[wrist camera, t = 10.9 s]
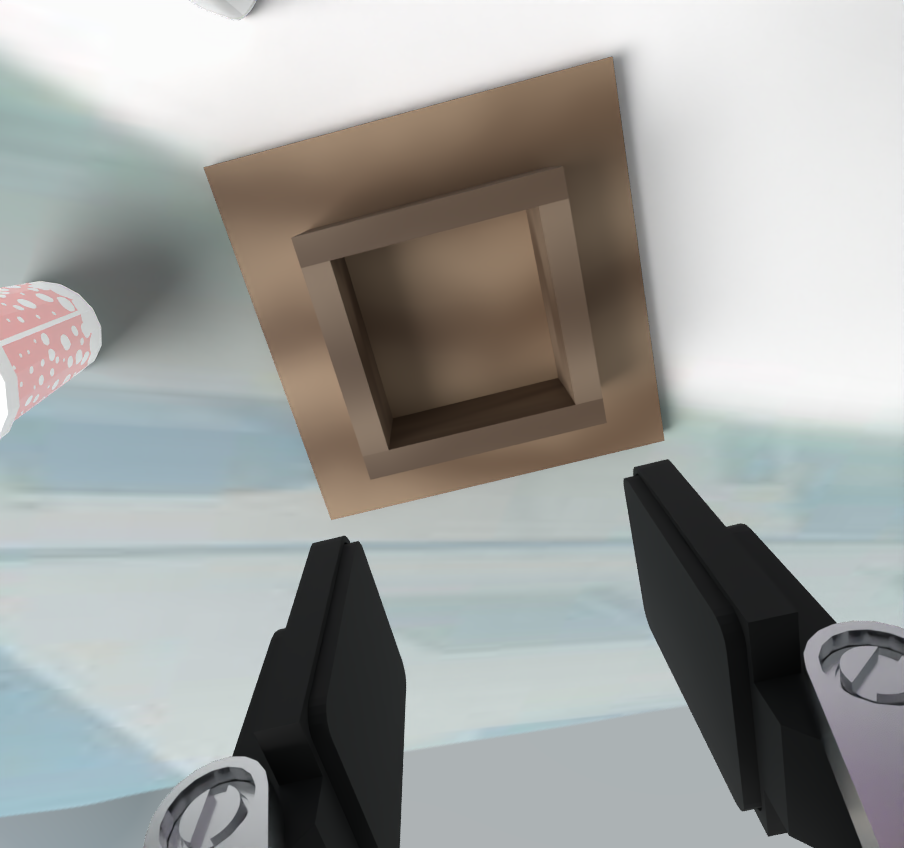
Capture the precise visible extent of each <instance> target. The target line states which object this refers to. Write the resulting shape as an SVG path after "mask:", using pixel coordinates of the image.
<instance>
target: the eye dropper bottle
mask: <svg viewBox="0 0 904 848" xmlns="http://www.w3.org/2000/svg"><path fill="white" fill-rule="evenodd" d="M189 1H191V2H192V3H194V4H195V5H196V6H198V7H199V8H201V9H204V10H206V11H209V12H211V13H214V14H217V15H219V16H222V17H225V18H228V19H231V20H241V19H242V18H244V17H245V16H247V15H248V13H249V12H250V11H251V9H252V8H253V6H254V5H255V3H256V1H257V0H189Z"/></svg>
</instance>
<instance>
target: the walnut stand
mask: <svg viewBox="0 0 904 848" xmlns="http://www.w3.org/2000/svg"><path fill="white" fill-rule="evenodd" d="M204 170H205V173H206V176H207V179H208V181H209V184H210V187H211V190H212V192H213V195H214V198H215V201H216V203H217V206H218V209H219V212H220V214H221V217H222V220H223V223H224V225H225V228H226V231H227V234H228V236H229V239H230V242H231V245H232V247H233V250H234V253H235V256H236V258H237V261H238V264H239V267H240V270H241V272H242V275H243V278H244V281H245V283H246V286H247V289H248V292H249V294H250V297H251V300H252V303H253V305H254V308H255V311H256V314H257V316H258V319H259V322H260V325H261V327H262V330H263V333H264V336H265V338H266V341H267V344H268V347H269V349H270V352H271V355H272V358H273V360H274V363H275V366H276V369H277V372H278V374H279V377H280V380H281V383H282V385H283V388H284V391H285V394H286V396H287V399H288V402H289V405H290V407H291V410H292V413H293V416H294V418H295V421H296V424H297V427H298V429H299V432H300V435H301V438H302V440H303V443H304V446H305V449H306V451H307V454H308V457H309V460H310V463H311V465H312V468H313V471H314V474H315V476H316V479H317V482H318V485H319V487H320V490H321V493H322V496H323V498H324V501H325V504H326V507H327V509H328V512H329V515H330V518H331V520H333V519H338V518H342V517H346V516H350V515H354V514H359V513H363V512H367V511H371V510H375V509H380V508H384V507H388V506H392V505H396V504H401V503H405V502H409V501H413V500H417V499H422V498H426V497H430V496H434V495H438V494H443V493H447V492H451V491H455V490H459V489H463V488H468V487H472V486H476V485H480V484H484V483H489V482H493V481H497V480H501V479H505V478H510V477H514V476H518V475H522V474H526V473H531V472H535V471H539V470H543V469H547V468H552V467H556V466H560V465H564V464H568V463H573V462H577V461H581V460H585V459H589V458H594V457H598V456H602V455H606V454H610V453H614V452H619V451H623V450H627V449H631V448H635V447H640V446H644V445H648V444H652V443H656V442H661V441H664V434H663V426H662V419H661V412H660V404H659V397H658V389H657V382H656V375H655V367H654V360H653V352H652V345H651V338H650V330H649V323H648V315H647V308H646V301H645V293H644V286H643V279H642V271H641V264H640V256H639V249H638V242H637V234H636V227H635V219H634V212H633V205H632V197H631V190H630V182H629V175H628V168H627V160H626V153H625V145H624V138H623V131H622V123H621V116H620V108H619V101H618V94H617V86H616V79H615V71H614V64H613V57H609V58H605V59H601V60H598V61H594V62H590V63H587V64H583V65H579V66H576V67H572V68H568V69H565V70H561V71H557V72H554V73H550V74H546V75H542V76H539V77H535V78H531V79H528V80H524V81H520V82H517V83H513V84H509V85H506V86H502V87H498V88H495V89H491V90H487V91H484V92H480V93H476V94H473V95H469V96H465V97H461V98H458V99H454V100H450V101H447V102H443V103H439V104H436V105H432V106H428V107H425V108H421V109H417V110H414V111H410V112H406V113H403V114H399V115H395V116H391V117H388V118H384V119H380V120H377V121H373V122H369V123H366V124H362V125H358V126H355V127H351V128H347V129H344V130H340V131H336V132H333V133H329V134H325V135H322V136H318V137H314V138H310V139H307V140H303V141H299V142H296V143H292V144H288V145H285V146H281V147H277V148H274V149H270V150H266V151H263V152H259V153H255V154H252V155H248V156H244V157H241V158H237V159H233V160H229V161H226V162H222V163H218V164H215V165H211V166H207V167H204Z"/></svg>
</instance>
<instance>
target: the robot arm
mask: <svg viewBox="0 0 904 848" xmlns="http://www.w3.org/2000/svg"><path fill="white" fill-rule="evenodd" d="M624 490H625V496H626V502H627V508H628V514H629V520H630V526H631V532H632V538H633V544H634V550H635V556H636V563H637V569H638V575H639V581H640V587H641V593H642V599H643V605H644V610H645V614H646V618H647V621H648V624H649V626H650V629H651V631H652V633H653V635H654V637H655V639H656V641H657V643H658V645H659V647H660V650H661V652H662V654H663V656H664V658H665V660H666V662H667V664H668V666H669V668H670V670H671V672H672V674H673V676H674V678H675V680H676V682H677V684H678V686H679V688H680V690H681V692H682V694H683V696H684V698H685V700H686V702H687V704H688V706H689V709H690V711H691V712H692V715H693V717H694V718H695V721H696V723H697V725H698V727H699V728H700V731H701V733H702V735H703V737H704V739H705V741H706V743H707V745H708V747H709V749H710V751H711V753H712V755H713V757H714V759H715V761H716V763H717V765H718V767H719V769H720V772H721V774H722V776H723V778H724V780H725V782H726V784H727V786H728V788H729V790H730V792H731V794H732V796H733V798H734V800H735V802H736V804H737V805H738V807H739V808H740V810H741V811H747V810H751V809H754V810H755V812H756V814H757V816H758V818H759V820H760V822H761V823H762V825H763V827H764V829H765V831H766V833H767V835H768V836H773V835H778V834H783V833H788V834H789V836H791V837H793V838H795V839H797V840H799V841H801V842H803V843H805V844H807V845H809V846H811V847H813V848H904V629H903V628H901V627H898V626H894V625H889V624H885V623H880V622H875V621H848V622H842V623H836V622H835V621H834V620H833V618H832V617H831V616H830V615H829V614H828V613H827V612H826V611H825V610H824V609H823V607H822V606H821V605H820V604H819V603H818V602H817V601H816V600H815V599H814V598H813V597H812V595H811V594H810V593H809V592H808V591H807V590H806V589H805V588H804V587H803V586H802V584H801V583H800V582H799V581H798V580H797V579H796V578H795V577H794V576H793V575H792V574H791V572H790V571H789V570H788V569H787V568H786V567H785V566H784V565H783V564H782V563H781V561H780V560H779V559H778V558H777V557H776V556H775V555H774V554H773V553H772V552H771V551H770V549H769V548H768V547H767V546H766V545H765V544H764V543H763V542H762V541H761V540H760V538H759V537H758V536H757V535H756V534H755V533H754V532H753V531H752V530H751V529H750V528H749V527H748V526H747V525H745V524H736V525H732V526H728V527H726V526H725V525H724V524H723V523H722V522H721V520H720V519H719V518H718V517H717V516H716V515H715V513H714V512H713V511H712V510H711V509H710V507H709V506H708V505H707V504H706V503H705V502H704V500H703V499H702V498H701V497H700V496H699V495H698V493H697V492H696V491H695V490H694V489H693V487H692V486H691V485H690V484H689V483H688V482H687V480H686V479H685V478H684V477H683V476H682V474H681V473H680V472H679V471H678V470H677V469H676V467H675V466H674V465H673V464H672V463H671V462H670V461H669V460H668V459H667V460H662V461H658V462H654V463H650V464H646V465H641V466H637V467H634V469H633V476H632V477H628V478H624ZM405 701H406V676H405V670H404V666H403V662H402V659H401V656H400V653H399V651H398V648H397V645H396V642H395V639H394V636H393V633H392V630H391V628H390V625H389V622H388V619H387V616H386V613H385V610H384V607H383V605H382V602H381V599H380V596H379V593H378V590H377V587H376V585H375V582H374V579H373V576H372V573H371V570H370V567H369V564H368V562H367V559H366V556H365V553H364V550H363V548H362V545H361V544H360V542H359V541H357V542H353V543H350V541H349V540H348V538H347V537H346V536H341V537H337V538H333V539H329V540H324V541H320V542H316V543H313V544H312V546H311V548H310V551H309V555H308V558H307V561H306V564H305V567H304V571H303V574H302V577H301V580H300V584H299V587H298V590H297V593H296V596H295V600H294V603H293V606H292V609H291V613H290V616H289V619H288V622H287V626H286V628H284V629H280V630H278V631H276V632H275V633H274V635H273V637H272V639H271V642H270V645H269V648H268V651H267V654H266V657H265V660H264V663H263V666H262V669H261V672H260V675H259V678H258V681H257V684H256V687H255V690H254V693H253V696H252V699H251V702H250V705H249V708H248V711H247V714H246V717H245V720H244V723H243V726H242V729H241V732H240V735H239V738H238V741H237V744H236V747H235V750H234V753H233V756H232V757H227V758H223V759H220V760H216V761H213V762H211V763H209V764H207V765H205V766H203V767H201V768H199V769H197V770H195V771H194V772H193V773H191V774H190V775H189V776H187V777H186V778H185V779H184V780H182V781H181V782H180V783H178V784H177V785H176V787H175V788H174V789H173V790H172V791H171V792H170V793H169V794H168V795H167V796H166V797H165V798H164V800H163V801H162V802H161V804H160V806H159V807H158V809H157V810H156V812H155V813H154V815H153V817H152V819H151V822H150V825H149V827H148V830H147V833H146V837H145V842H144V847H143V848H400V826H401V802H402V801H401V800H402V775H403V751H404V726H405Z"/></svg>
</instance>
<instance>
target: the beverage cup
mask: <svg viewBox="0 0 904 848" xmlns="http://www.w3.org/2000/svg"><path fill="white" fill-rule="evenodd" d="M101 346H102V336H101V325H100V323H99V321H98V319H97V316H96V314H95V312H94V310H93V308H92V307H91V306H90V305H89V304H88V303H87V302H86V301H85V300H84V299H83V298H82V297H81V296H80V295H79V294H78V293H76V292H74V291H72V290H71V289H69V288H67V287H65V286H63V285H61V284H57V283H50V282H44V281H37V282H32V283H26V284H20V285H14V286H8V287H2V288H0V439H1V438H2V437H3V436H5V435H6V434H7V433H8V432H9V431H10V429H11V426H12V424H13V422H14V421H15V420H16V419H18V418H19V417H20V416H22V415H23V414H24V413H26V412H27V411H28V410H30V409H31V408H32V407H34V406H35V405H36V404H38V403H39V402H40V401H42V400H43V399H44V398H46V397H47V396H49V395H50V394H51V393H53V392H54V391H55V390H57V389H58V388H59V387H61V386H62V385H63V384H65V383H66V382H67V381H69V380H70V379H71V378H73V377H74V376H75V375H77V374H78V373H79V372H81V371H82V370H83V369H85V368H86V367H87V366H88V365H90V364H91V363H92V362H93V361H95V359H96V357H97V355H98V352H99V350H100V348H101Z"/></svg>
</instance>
